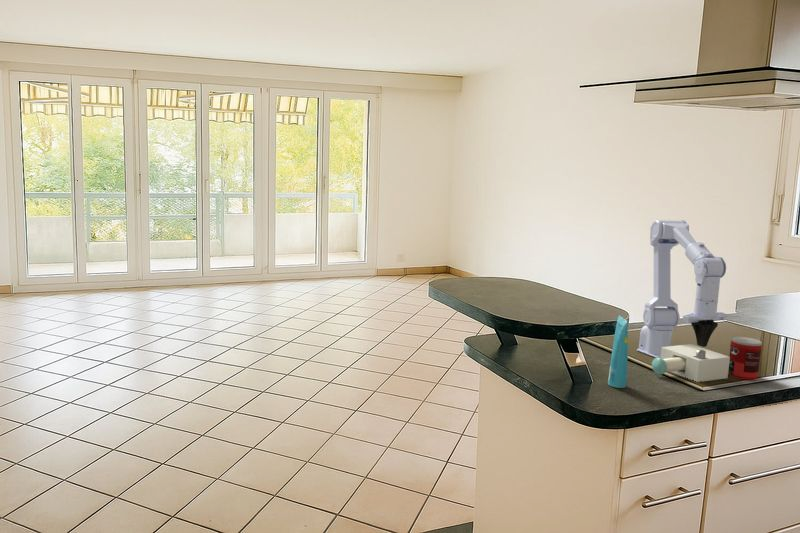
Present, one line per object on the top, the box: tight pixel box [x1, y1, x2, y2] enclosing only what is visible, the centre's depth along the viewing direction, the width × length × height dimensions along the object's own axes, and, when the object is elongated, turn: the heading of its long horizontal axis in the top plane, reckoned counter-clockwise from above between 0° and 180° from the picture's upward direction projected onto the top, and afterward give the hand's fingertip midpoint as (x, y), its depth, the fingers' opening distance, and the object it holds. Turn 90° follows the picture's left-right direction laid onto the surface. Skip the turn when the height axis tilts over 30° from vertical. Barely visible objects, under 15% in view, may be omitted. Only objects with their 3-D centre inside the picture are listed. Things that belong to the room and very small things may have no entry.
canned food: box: [728, 336, 763, 381], centre depth 182 cm, size 8×8×11 cm
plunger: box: [696, 350, 706, 359], centre depth 178 cm, size 2×2×4 cm
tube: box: [607, 314, 629, 389], centre depth 170 cm, size 7×5×19 cm, turn 3°
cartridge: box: [651, 357, 686, 376], centre depth 182 cm, size 5×17×5 cm, turn 112°
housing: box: [660, 343, 730, 383], centre depth 184 cm, size 14×12×6 cm
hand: (701, 345), depth 177 cm, fingers closed
